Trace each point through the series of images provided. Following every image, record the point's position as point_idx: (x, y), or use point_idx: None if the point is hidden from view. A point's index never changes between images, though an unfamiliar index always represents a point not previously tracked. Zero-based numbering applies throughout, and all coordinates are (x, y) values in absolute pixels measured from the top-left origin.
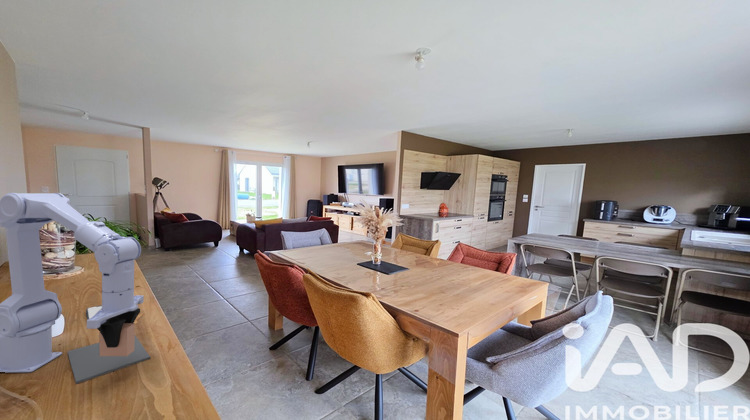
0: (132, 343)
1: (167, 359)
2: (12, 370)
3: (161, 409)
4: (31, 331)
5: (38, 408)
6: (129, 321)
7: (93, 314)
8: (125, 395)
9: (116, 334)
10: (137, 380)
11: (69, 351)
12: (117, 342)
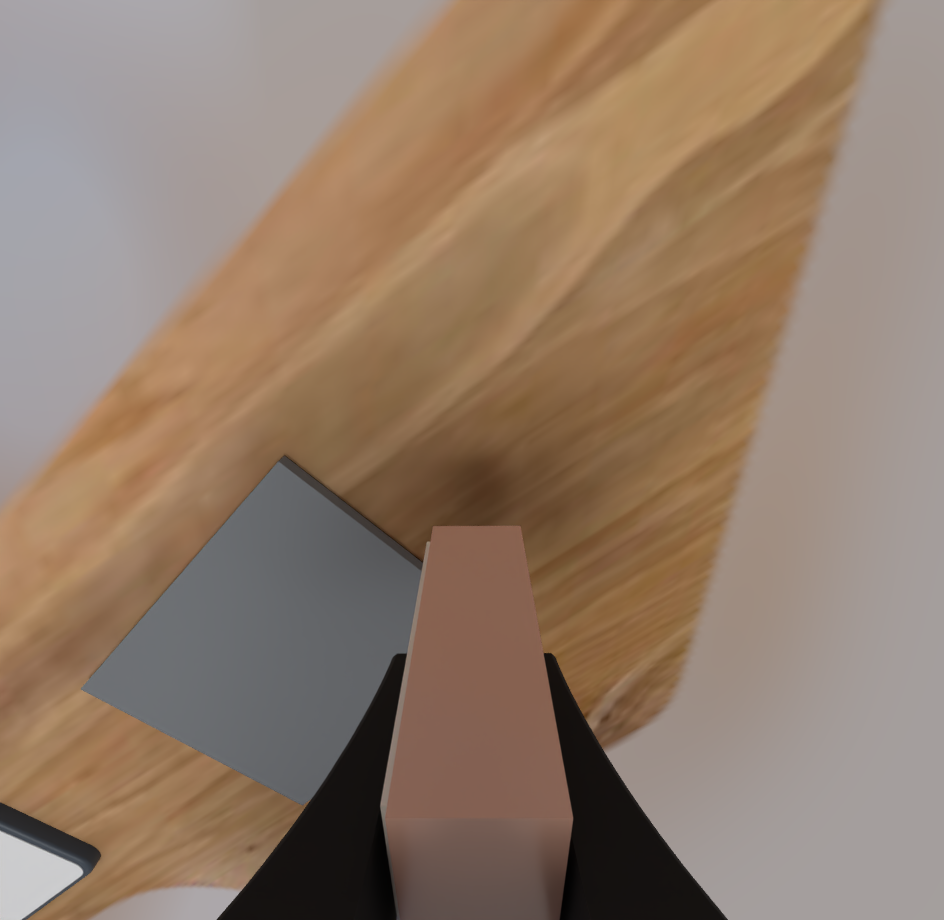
0: (454, 576)
1: (271, 341)
2: None
3: (844, 3)
4: None
5: (663, 648)
6: (366, 905)
7: (15, 905)
8: (636, 364)
9: (635, 804)
10: (501, 388)
11: (303, 799)
12: (563, 688)
